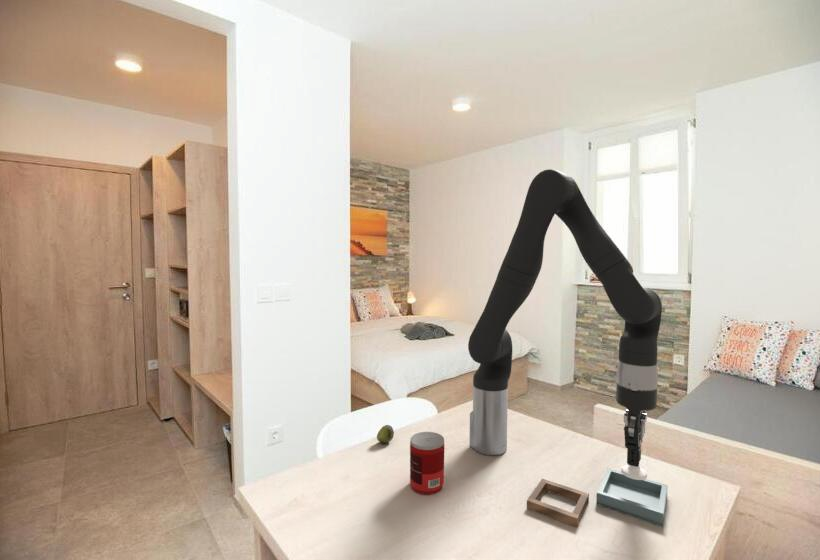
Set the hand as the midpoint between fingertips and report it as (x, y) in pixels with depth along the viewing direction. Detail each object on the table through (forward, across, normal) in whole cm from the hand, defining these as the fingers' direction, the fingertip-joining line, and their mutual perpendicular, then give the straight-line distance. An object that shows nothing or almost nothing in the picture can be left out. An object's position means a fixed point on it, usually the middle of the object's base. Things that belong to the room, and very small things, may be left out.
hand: (633, 462), depth 87 cm
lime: (+9, +10, -60) cm, 62 cm away
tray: (+8, 0, 0) cm, 8 cm away
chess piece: (+3, 0, 0) cm, 3 cm away
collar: (+8, +11, -13) cm, 19 cm away
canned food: (+9, +21, -39) cm, 45 cm away
